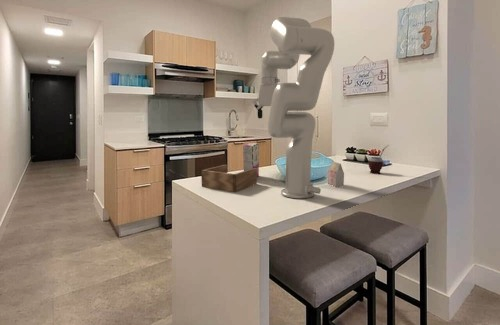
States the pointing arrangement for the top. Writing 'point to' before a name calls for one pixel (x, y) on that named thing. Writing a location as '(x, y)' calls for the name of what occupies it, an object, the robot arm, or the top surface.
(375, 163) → the mate gourd
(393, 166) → the top surface
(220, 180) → the walnut crate
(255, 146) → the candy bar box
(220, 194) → the top surface
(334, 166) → the toy house
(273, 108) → the robot arm
